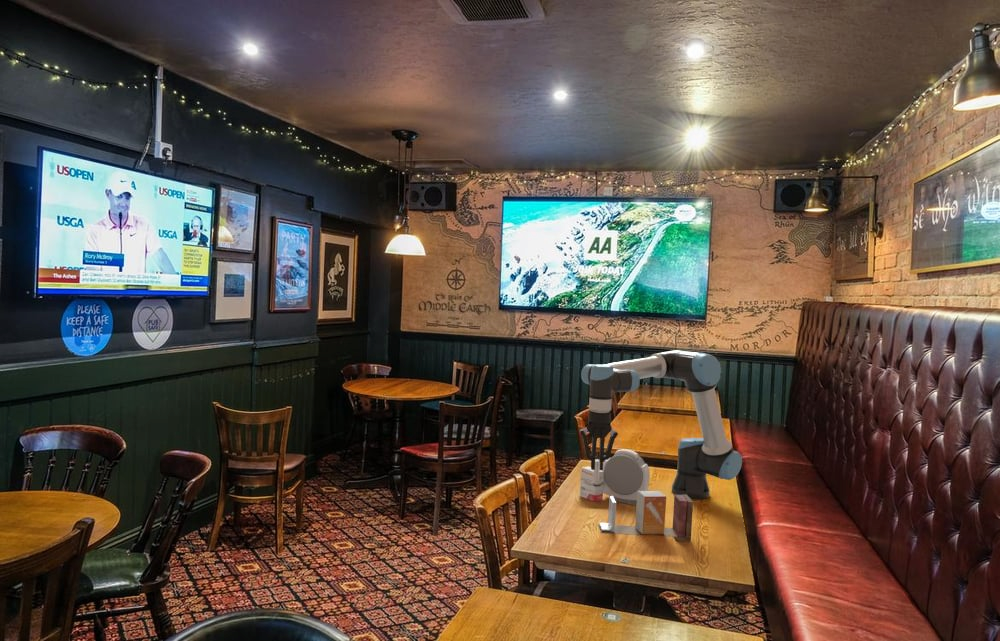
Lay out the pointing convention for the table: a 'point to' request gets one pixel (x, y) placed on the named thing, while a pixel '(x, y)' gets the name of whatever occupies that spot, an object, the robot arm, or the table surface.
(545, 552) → the table surface
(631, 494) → the alarm clock
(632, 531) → the book board
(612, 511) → the bookend
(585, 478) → the ink box
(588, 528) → the table surface
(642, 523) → the small box
